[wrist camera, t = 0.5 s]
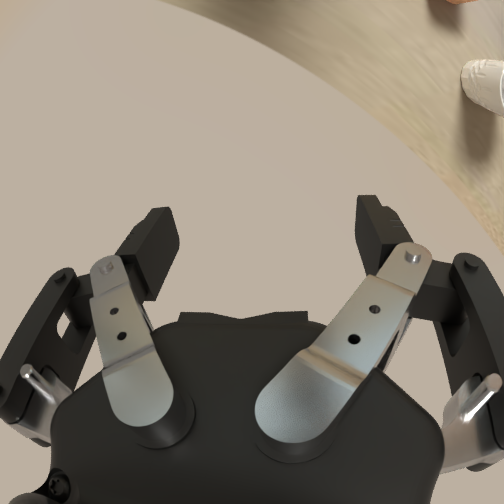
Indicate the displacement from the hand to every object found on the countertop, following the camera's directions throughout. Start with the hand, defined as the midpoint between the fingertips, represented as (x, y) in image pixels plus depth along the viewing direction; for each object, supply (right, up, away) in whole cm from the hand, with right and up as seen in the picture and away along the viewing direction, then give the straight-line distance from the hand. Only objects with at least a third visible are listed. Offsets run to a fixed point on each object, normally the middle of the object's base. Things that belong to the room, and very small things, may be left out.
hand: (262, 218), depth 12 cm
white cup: (+31, +22, +14) cm, 41 cm away
